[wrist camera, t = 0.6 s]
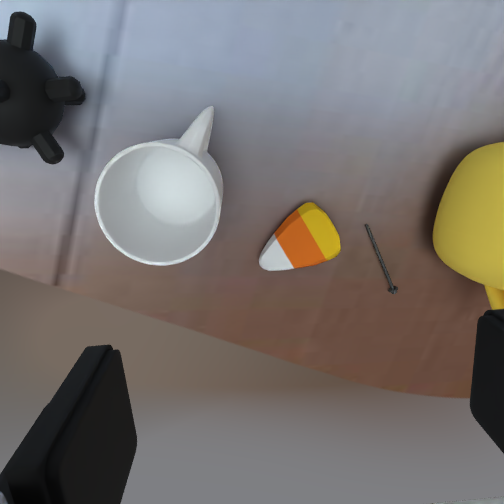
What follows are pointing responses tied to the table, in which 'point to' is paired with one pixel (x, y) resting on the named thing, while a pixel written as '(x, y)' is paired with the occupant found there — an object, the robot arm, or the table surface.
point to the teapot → (475, 221)
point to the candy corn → (301, 241)
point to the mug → (162, 196)
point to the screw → (382, 263)
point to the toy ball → (32, 92)
